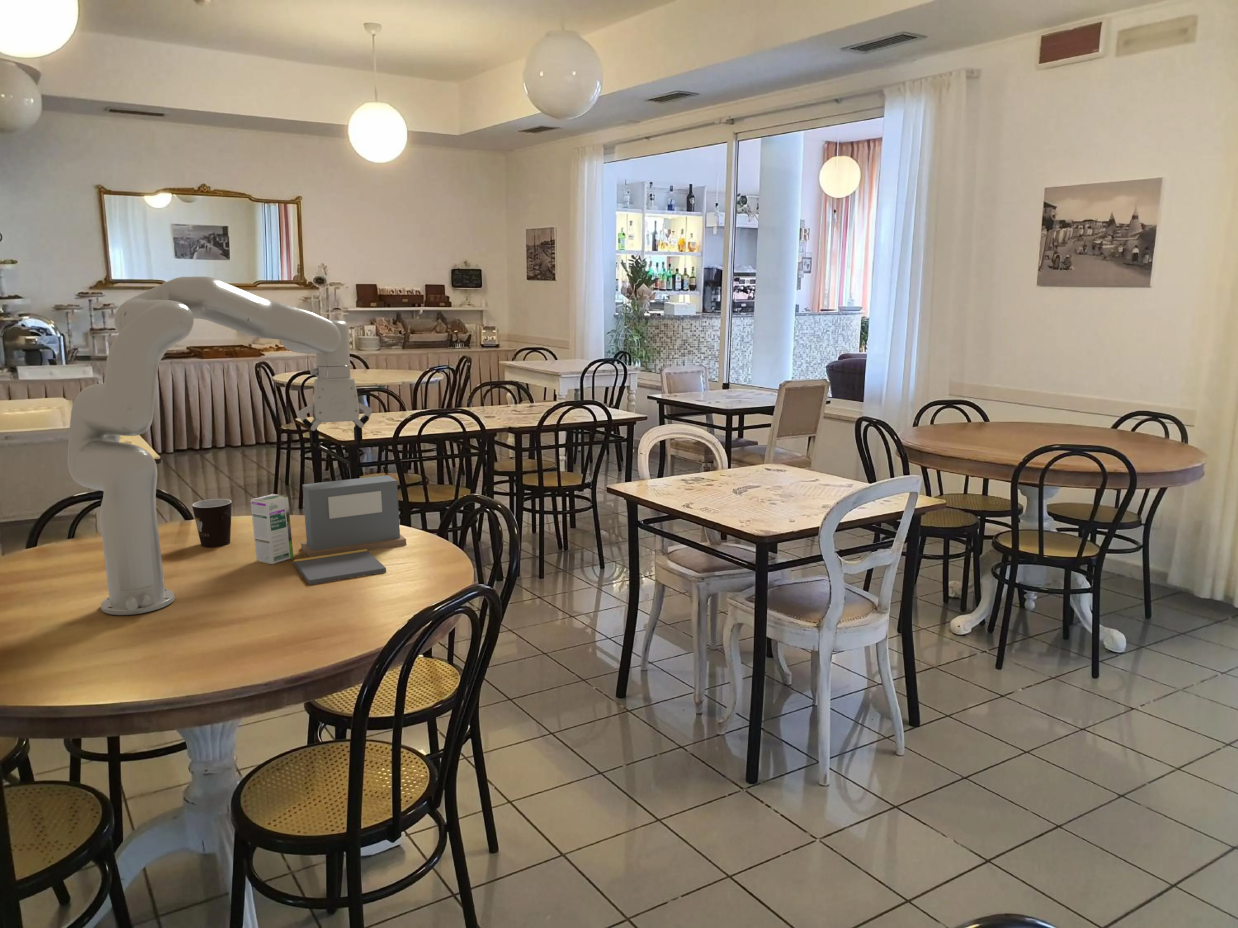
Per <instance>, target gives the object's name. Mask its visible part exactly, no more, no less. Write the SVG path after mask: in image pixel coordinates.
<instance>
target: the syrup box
mask: <svg viewBox="0 0 1238 928" xmlns="http://www.w3.org/2000/svg"><path fill="white" fill-rule="evenodd" d="M289 505H290V504H289V497H288V496H287V495H283V494H278V493H277V494H275V493H271V494H268V495H264V496H260V497H257V498H256V497H255V498H251V499H250V509H251V518H252V527H253V528H252V529H253V537H254V547H255V556H256V557H255V558H256V561H258V562H261V563H265V564H270V565H275V564H278V563H280V562H281V563H282V562H284V561H286V560H291V559H293V558H294V550H293V549H294V548H293V540H292V537H293V536H292V525H291V516H290V506H289Z"/></svg>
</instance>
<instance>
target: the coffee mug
mask: <svg viewBox="0 0 1238 928" xmlns="http://www.w3.org/2000/svg"><path fill="white" fill-rule="evenodd" d="M232 502H233V501H232V500H231V499H229V498H212V499H204V500H199V501H196V502H193V503H192V505H191V507H192V512H193V515H194V520H195V521H194V522H195V523H196V524H195V525H196V528H197V532H198V533H197V534H198V537H199V540H200V546H201V547H203V548H209V549H210V548H213V549H214V548H220V547H224V546H227V545H229V544H230V543H231V531H232Z"/></svg>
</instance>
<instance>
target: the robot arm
mask: <svg viewBox="0 0 1238 928" xmlns="http://www.w3.org/2000/svg"><path fill="white" fill-rule="evenodd" d="M113 318H114V327H115V329H116V332H118V333H117V336H116V337H115V338H114V340H113V342H112V344H111V346H110V348H109V350H108V355H107V360H106V366H105V372H104V379H103V383H95V384H94V383H93V384H91V385H89V386H86V387H85V388H83V389H82V390H80V392H79V393H78V395H76V397H75V399H74V401H73V404H72V407H71V411H70V417H69V418H70V419H69V420H70V421H69V431H68V433H69V434H68V444H67V445H68V447H67V467H68V469H67V470H68V472H69V474H70V476H71V478H72V480H73V481H75V483H77V484H78V485H80V486H81V487H84V488H87V489H91V490H96V491H102V492H103V495H102V496H103V497H102V500H101V504H100V509H99V524H100V532H101V539H102V548H103V557H104V563H105V564H104V565H105V572H106V574H105V575H106V580H107V581H106V582H107V590H108V596H109V597H107V598H105V599H104V600H102V602H101V604H100V609H101V612H102V613H105V614H107V615H114V616H129V615H130V616H131V615H140V614H144V613H150V612H153V611H157V610H160V609H162V608H165V607H167V606H168V605H170V604H172V603H173V602H174V601H175V593H174V592H173V591H172V590H170V589H168V588H165V579H164V578H165V577H164V570H163V561H162V551H161V550H162V549H161V541H160V533H159V531H160V530H159V523H158V516H157V515H158V514H157V505H156V503H157V502H156V501H157V500H156V499H157V496H156V494H157V482H158V464H157V462H156V460H155V457H153V455H152V454H151V453H150V452H149V451H148V450H146V449H145V448H143V447H142V446H139V445H136V444H132V443H127V442H121V441H120V438H121V437H120V436H122V437H123V436H124V437H134V436H135V437H136V436H139V435H142V434H144V433H146V432H147V431H148V430H149V429H150V427H151V426H152V424H153V419H154V414H155V401H156V388H157V377H158V371H159V365H160V363H161V360H162V359H163V357H164V356H165V354H166V353H167V351H168V350H169V349H171V348H172V347H173V346H174V345H176V344H178V343H180V342H181V341H184V339H186V338H187V337H188V336H189V335H190V333H191V331H192V329H193V326H194V320H195V319H200V320H205V321H209V322H211V323H214V324H217V325H219V326H223V327H226V328H228V329H231V330H234V331H236V332H238V333H242V334H243V335H247V336H250V337H256V338H261V339H269V340H278V341H280V342H281V344H282V346H283V347H284V348H285V349H286V350H288V351H290V352H293V353H297V354H315V360H316V365H315V367H314V368H310V371H309V372H310V375H314V376H315V377H316V378H315V379H314V381H313V386H312V388H313V389H312V402H311V403H310V404H309V405H307V406H305V407H304V408H301V409H300V410H298V411H296V413H297V416H298V418H299V419H300V420H301V423H302V424H303V425H304V426H306V427H307V428H308V429H310V430H309V431H310V433H309V434H310V444H313V447H314V448H319V447H320V433H319V430H318V427H319V426H320V425H321V423H339V422H340V423H341V422H353V424H354V426H353V442H354V444H357V445H361V441H363V427H364V426H365V424H366V423H368V421H370V417H371V415H372V412H373V411H374V409H373V408H371V407H369V406H367V405H365V404H363V403H361V402H359V398H358V390H357V383H356V381H355V378H353V377H352V378H351V361H350V360H351V359H350V335H349V325H348V324H347V322H346V321H345V320H341V319H340V320H339V319H335V320H334V319H332V320H331V319H327V318H326V317H323V316H321V315H319V314H316V313H314V312H312V311H308V310H305V309H303V308H302V309H301V308H298V307H295V306H292V305H288V304H284V303H281V302H278V301H276V300H271V299H267V298H264V297H262V296H259V295H256V294H253V293H252V292H249V291H247V290H244V289H242V288H239V287H237V286H235V285H232V284H230V283H228V282H225V281H223V280H220V279H218V278H214V277H211V276H180V277H176V278H172V279H170V280H167V281H165V282H163V283H161V284H159V285H157V286H155V287H153V288H151V289H148V290H146V291H145V292H142V293H140V294H138V295H135V296H133V297H131V298H128V299H127V300H125V301H124V302H123V303H122V304H120V305H119V306H118V308H117V310H116V312H115V314H114V317H113ZM360 410H362V411H364V413H363V416H361V417H360ZM310 412H311V413H312V417H313V418H312V420H311V421H310V420H308V418H307V414H309V413H310ZM359 418H360V419H359Z"/></svg>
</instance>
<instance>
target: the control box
mask: <svg viewBox="0 0 1238 928" xmlns="http://www.w3.org/2000/svg"><path fill="white" fill-rule="evenodd" d="M302 494H303V495H302V497H303V509H304V523H305V536H306V538H305V539H306V541H301V542H300V544H301V545H300V546H301V549H302V551H303V552H304V554H305V555H307V558H310V557H317V556H323V555H330V554H337V553H344V552H350V551H357V550H364V549H367V550H368V551H369V552H370V551H376V550H383V549H388V548H395V547H401V546H406V545H407V538H406V537H405V536H403V535H402V534H401V532H400V531H401V530H400V513H399V498H398V497H399V495H398V480H397V479H396V478H394V477H392V476H390V475H389V474H387V475H378V476H369V477H367V476H366V477H361V478H360V477H359V478H349V479H341V480H332V481H331V480H330V481H324V482H323V481H322V482H315V483H314V482H312V483H307V484H302Z"/></svg>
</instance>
